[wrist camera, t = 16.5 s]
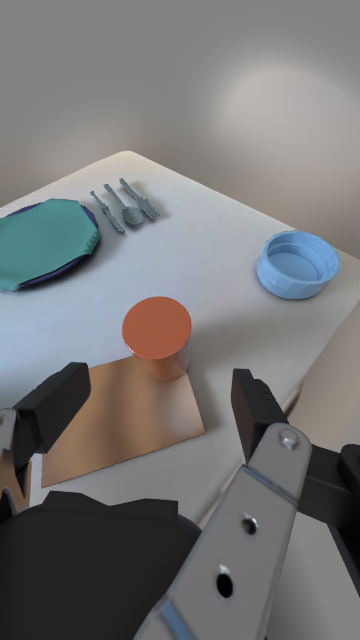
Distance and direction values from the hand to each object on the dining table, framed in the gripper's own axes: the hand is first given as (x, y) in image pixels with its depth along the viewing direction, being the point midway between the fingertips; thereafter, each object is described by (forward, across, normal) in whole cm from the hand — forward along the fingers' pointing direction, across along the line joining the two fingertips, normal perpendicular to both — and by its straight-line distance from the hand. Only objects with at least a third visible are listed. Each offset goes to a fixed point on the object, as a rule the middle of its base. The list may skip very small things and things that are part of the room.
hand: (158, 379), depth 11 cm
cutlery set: (+28, +20, -10) cm, 36 cm away
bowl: (+22, -16, -4) cm, 27 cm away
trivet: (+8, +6, +9) cm, 14 cm away
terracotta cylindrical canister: (+12, +1, +5) cm, 13 cm away
